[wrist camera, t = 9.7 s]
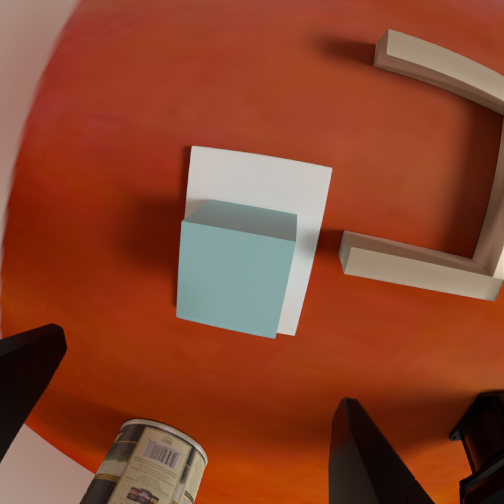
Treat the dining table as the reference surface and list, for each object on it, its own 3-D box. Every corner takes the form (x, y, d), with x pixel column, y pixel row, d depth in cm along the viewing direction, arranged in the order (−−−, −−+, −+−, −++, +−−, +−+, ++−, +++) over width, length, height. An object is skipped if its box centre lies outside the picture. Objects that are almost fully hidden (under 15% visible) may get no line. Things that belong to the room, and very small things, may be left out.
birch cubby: (475, 281, 18) (494, 301, 15) (338, 253, 19) (344, 273, 16) (515, 101, 13) (541, 99, 11) (375, 44, 14) (388, 28, 12)
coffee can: (135, 460, 32) (94, 545, 19) (110, 409, 28) (47, 508, 15) (214, 478, 30) (184, 576, 17) (202, 428, 27) (156, 555, 14)
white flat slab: (294, 330, 21) (294, 335, 21) (181, 307, 22) (178, 311, 21) (331, 167, 17) (332, 168, 17) (195, 145, 18) (192, 145, 18)
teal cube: (281, 292, 20) (275, 338, 15) (203, 276, 20) (176, 317, 16) (297, 214, 18) (296, 241, 13) (211, 199, 18) (181, 221, 14)
